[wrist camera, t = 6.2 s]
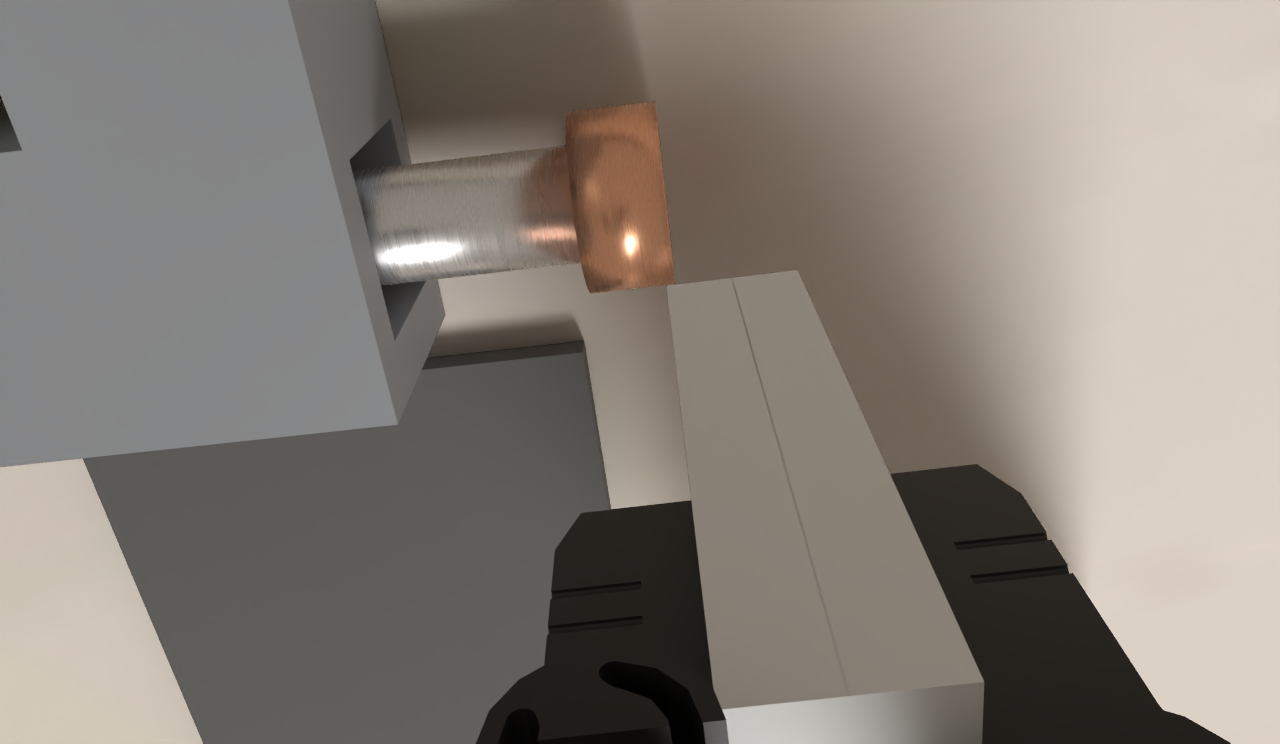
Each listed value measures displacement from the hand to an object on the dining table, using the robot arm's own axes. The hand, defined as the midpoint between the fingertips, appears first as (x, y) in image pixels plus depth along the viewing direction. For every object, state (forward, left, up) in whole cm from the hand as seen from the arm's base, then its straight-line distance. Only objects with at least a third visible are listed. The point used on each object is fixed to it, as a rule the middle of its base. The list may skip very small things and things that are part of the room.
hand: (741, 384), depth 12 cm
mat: (-9, -10, -10) cm, 17 cm away
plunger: (-6, 0, -10) cm, 11 cm away
